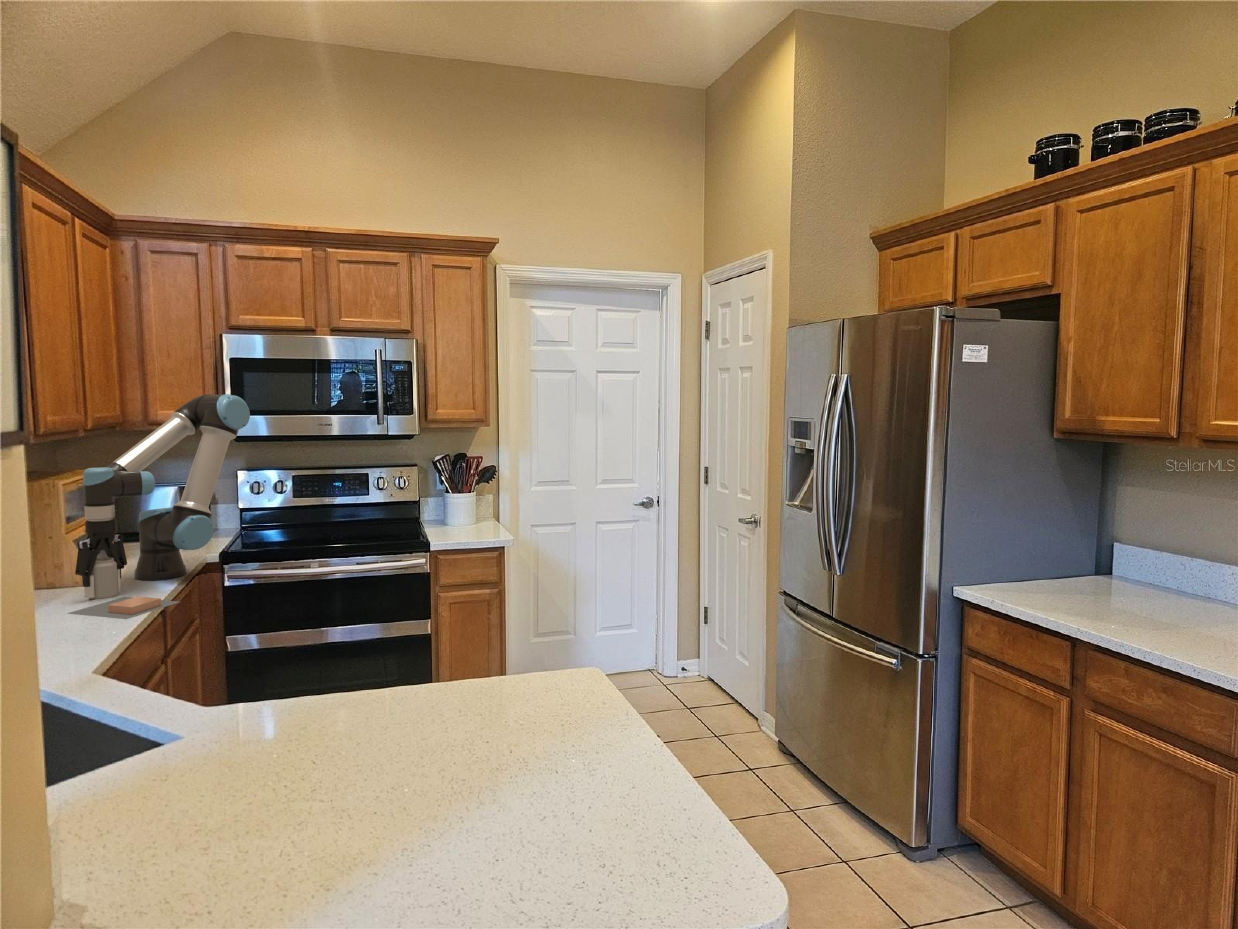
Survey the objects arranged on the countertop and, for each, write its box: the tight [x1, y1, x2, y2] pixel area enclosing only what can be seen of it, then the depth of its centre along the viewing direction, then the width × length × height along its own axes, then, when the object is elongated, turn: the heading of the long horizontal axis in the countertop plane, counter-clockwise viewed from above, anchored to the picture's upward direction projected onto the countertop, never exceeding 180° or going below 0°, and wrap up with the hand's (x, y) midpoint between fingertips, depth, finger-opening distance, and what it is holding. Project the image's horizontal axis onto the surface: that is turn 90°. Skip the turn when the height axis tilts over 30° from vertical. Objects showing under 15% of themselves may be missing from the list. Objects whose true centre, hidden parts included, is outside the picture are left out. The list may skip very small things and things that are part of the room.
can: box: [90, 556, 119, 601], centre depth 234 cm, size 8×8×12 cm
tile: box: [108, 595, 162, 615], centre depth 220 cm, size 2×8×10 cm
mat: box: [66, 596, 180, 620], centre depth 222 cm, size 19×20×1 cm
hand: (102, 593), depth 234 cm, fingers open, 8 cm apart
